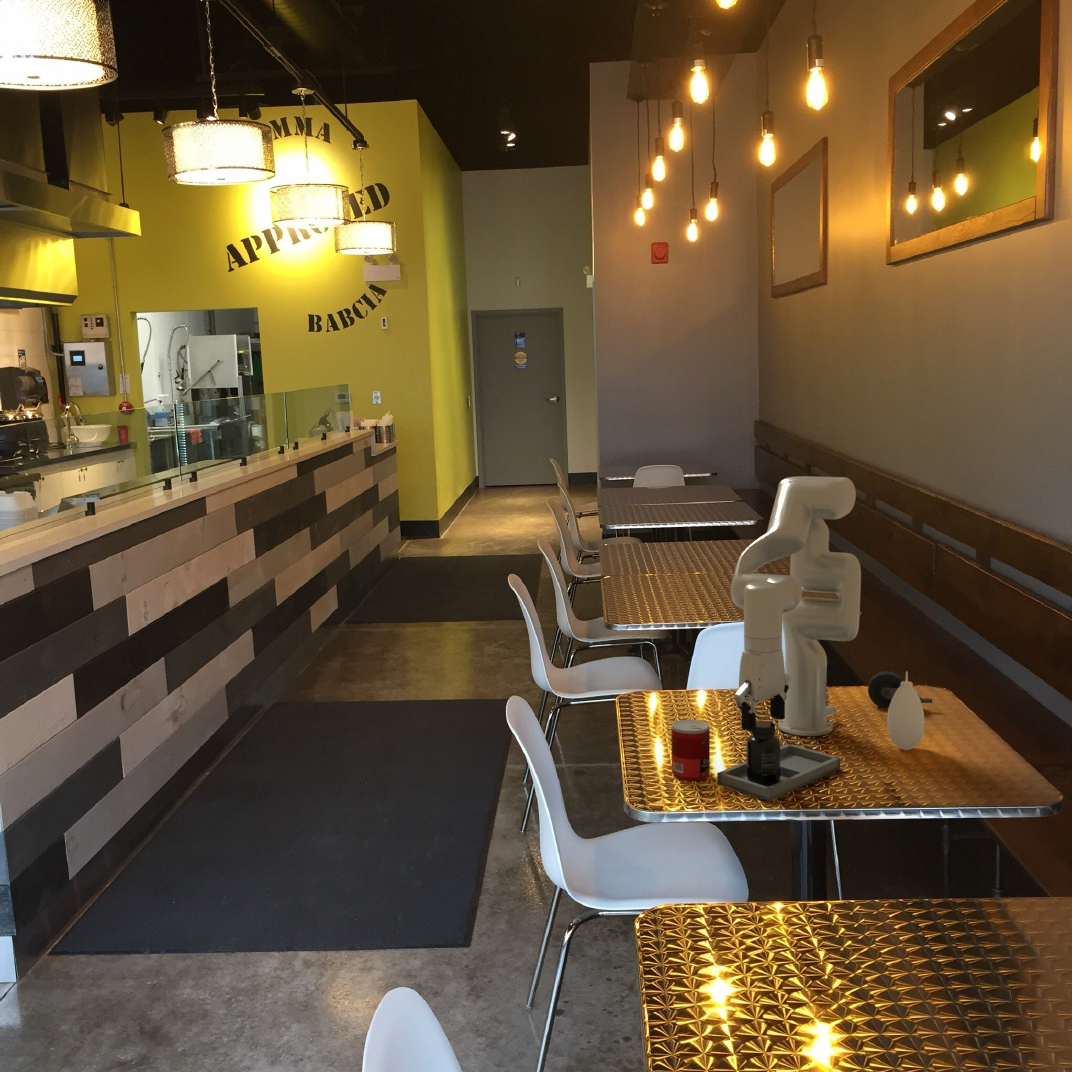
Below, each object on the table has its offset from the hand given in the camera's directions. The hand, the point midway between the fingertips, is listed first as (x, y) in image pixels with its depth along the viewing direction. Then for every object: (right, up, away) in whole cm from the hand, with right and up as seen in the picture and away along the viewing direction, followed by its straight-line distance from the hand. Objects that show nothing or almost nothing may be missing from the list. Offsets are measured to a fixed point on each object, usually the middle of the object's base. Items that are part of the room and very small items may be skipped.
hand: (763, 724), depth 217 cm
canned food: (-14, -12, +8) cm, 20 cm away
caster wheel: (+45, -5, +48) cm, 66 cm away
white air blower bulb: (+36, -9, +19) cm, 42 cm away
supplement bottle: (0, -12, +1) cm, 12 cm away
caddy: (+5, -12, +5) cm, 14 cm away
